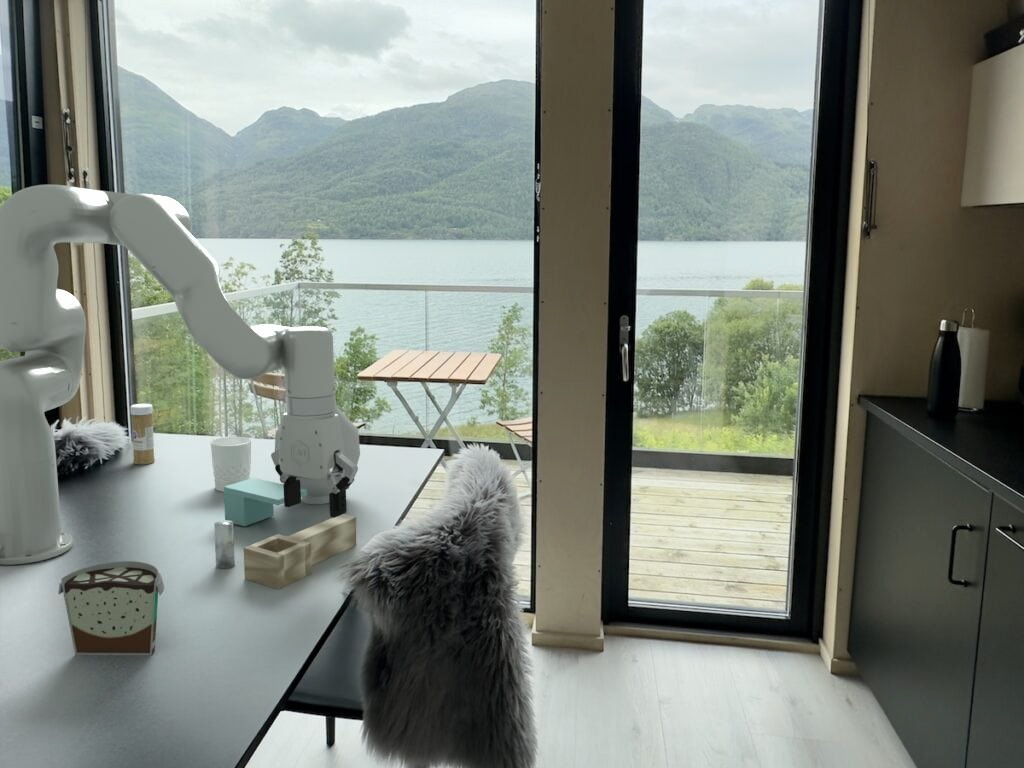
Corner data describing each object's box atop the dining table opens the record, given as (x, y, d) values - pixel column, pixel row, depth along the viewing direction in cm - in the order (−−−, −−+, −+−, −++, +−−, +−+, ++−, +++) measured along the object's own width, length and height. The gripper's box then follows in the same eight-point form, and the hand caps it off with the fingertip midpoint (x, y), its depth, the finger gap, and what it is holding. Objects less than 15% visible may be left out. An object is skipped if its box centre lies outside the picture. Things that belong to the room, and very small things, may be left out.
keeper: (279, 535, 140) (278, 499, 139) (225, 521, 146) (223, 486, 145) (307, 524, 146) (307, 489, 145) (254, 510, 152) (253, 477, 151)
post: (224, 570, 125) (222, 527, 124) (212, 566, 127) (210, 524, 126) (238, 564, 128) (237, 522, 127) (226, 560, 129) (224, 519, 128)
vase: (374, 491, 167) (373, 358, 162) (336, 516, 151) (334, 370, 146) (302, 483, 171) (299, 353, 166) (258, 507, 155) (254, 364, 151)
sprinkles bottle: (128, 463, 182) (125, 405, 180) (144, 458, 187) (141, 402, 184) (144, 466, 181) (141, 407, 179) (159, 461, 185) (156, 404, 183)
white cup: (258, 483, 171) (257, 437, 169) (242, 494, 163) (241, 446, 161) (223, 481, 171) (221, 435, 170) (205, 492, 164) (203, 444, 162)
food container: (182, 631, 106) (178, 559, 104) (163, 655, 100) (159, 579, 98) (87, 631, 105) (82, 558, 104) (62, 654, 99) (56, 578, 97)
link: (278, 589, 119) (277, 557, 118) (244, 578, 123) (243, 547, 122) (365, 547, 136) (365, 519, 136) (333, 539, 140) (333, 511, 139)
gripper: (253, 404, 127) (258, 508, 130) (336, 415, 119) (340, 526, 121) (287, 396, 133) (292, 495, 136) (369, 407, 125) (372, 512, 128)
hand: (315, 510), depth 129 cm, fingers open, 9 cm apart
